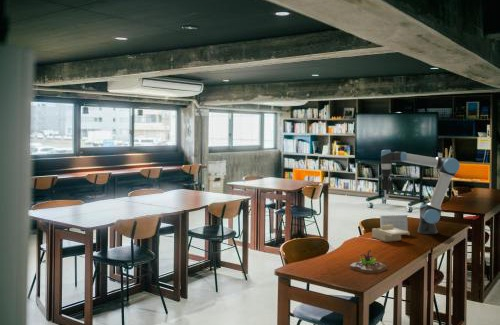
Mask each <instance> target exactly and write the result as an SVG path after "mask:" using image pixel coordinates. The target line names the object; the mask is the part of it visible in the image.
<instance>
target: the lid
mask: <svg viewBox="0 0 500 325" xmlns="http://www.w3.org/2000/svg"><path fill="white" fill-rule="evenodd" d="M380 228H381V229H378V233H381V234H384V235H387V236H390V237H392V235H395V234H407V236H410V231H409V230H408V231H405V230H401V229H398V228H393V225H382V226H380Z"/></svg>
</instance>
